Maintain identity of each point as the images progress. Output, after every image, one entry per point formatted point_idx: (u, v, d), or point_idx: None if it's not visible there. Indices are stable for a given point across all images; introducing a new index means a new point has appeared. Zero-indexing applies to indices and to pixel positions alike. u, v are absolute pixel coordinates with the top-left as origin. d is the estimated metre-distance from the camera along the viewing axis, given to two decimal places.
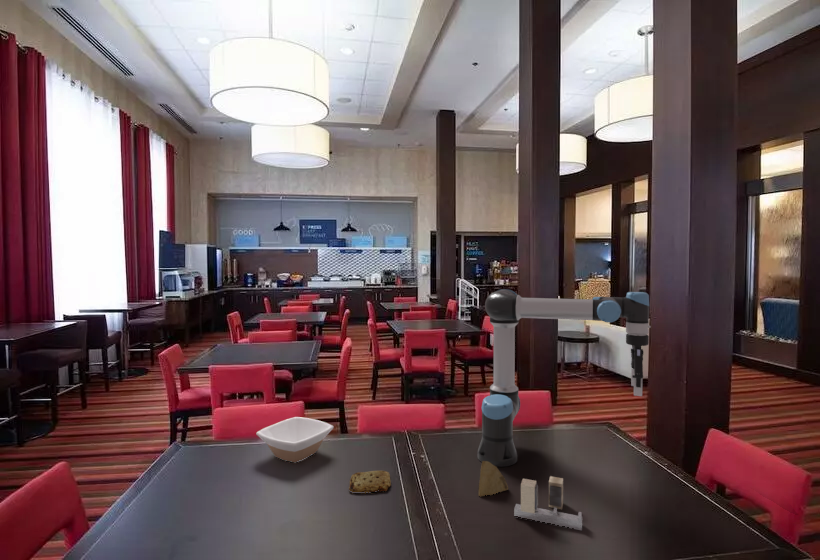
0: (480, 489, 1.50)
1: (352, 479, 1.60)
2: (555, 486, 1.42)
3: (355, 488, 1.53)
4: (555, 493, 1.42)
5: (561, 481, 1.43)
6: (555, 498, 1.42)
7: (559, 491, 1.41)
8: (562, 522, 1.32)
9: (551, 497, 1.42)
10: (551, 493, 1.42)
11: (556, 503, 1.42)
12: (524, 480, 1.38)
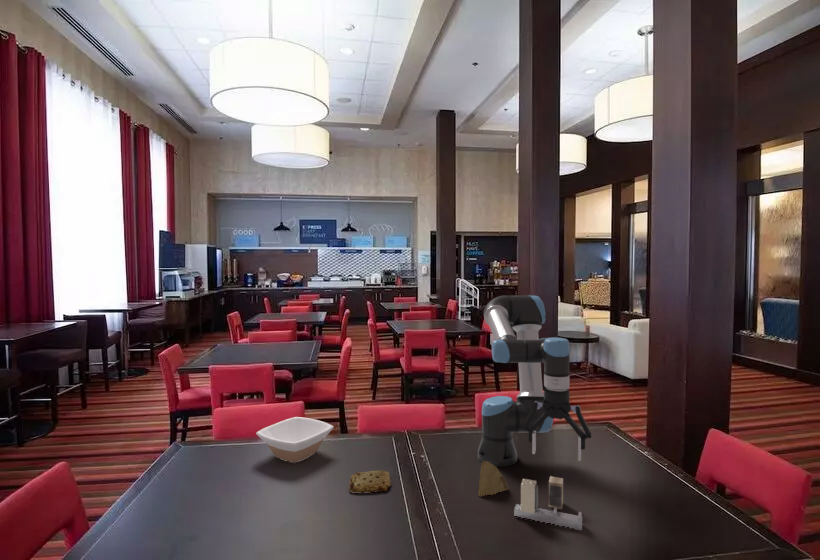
0: (480, 489, 1.50)
1: (352, 479, 1.60)
2: (555, 486, 1.42)
3: (355, 488, 1.53)
4: (555, 493, 1.42)
5: (561, 481, 1.43)
6: (555, 498, 1.42)
7: (559, 491, 1.41)
8: (562, 522, 1.32)
9: (551, 497, 1.42)
10: (551, 493, 1.42)
11: (556, 503, 1.42)
12: (524, 480, 1.38)
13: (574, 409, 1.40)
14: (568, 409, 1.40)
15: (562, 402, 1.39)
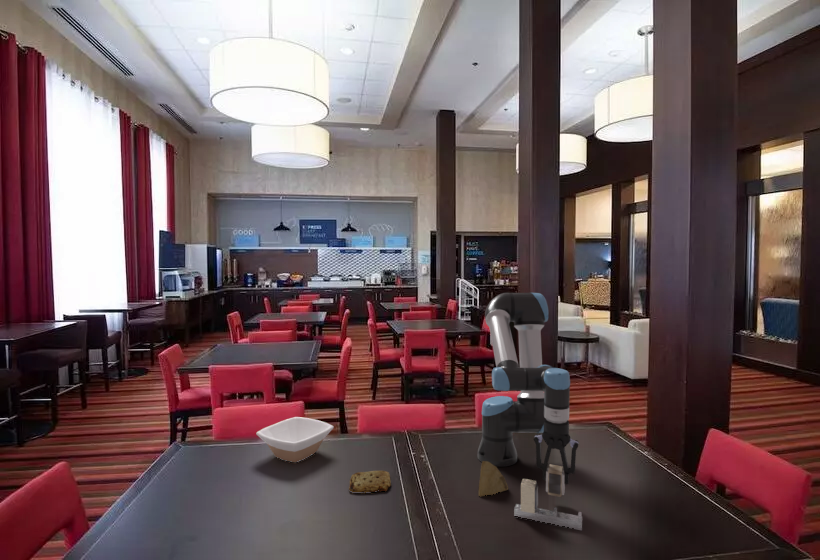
0: (480, 489, 1.50)
1: (352, 479, 1.60)
2: (555, 474, 1.42)
3: (355, 488, 1.53)
4: (554, 481, 1.42)
5: (561, 469, 1.43)
6: (554, 486, 1.42)
7: (558, 479, 1.41)
8: (562, 522, 1.32)
9: (550, 485, 1.42)
10: (550, 481, 1.42)
11: (555, 491, 1.42)
12: (524, 480, 1.38)
13: (572, 443, 1.41)
14: (567, 440, 1.41)
15: (562, 434, 1.40)
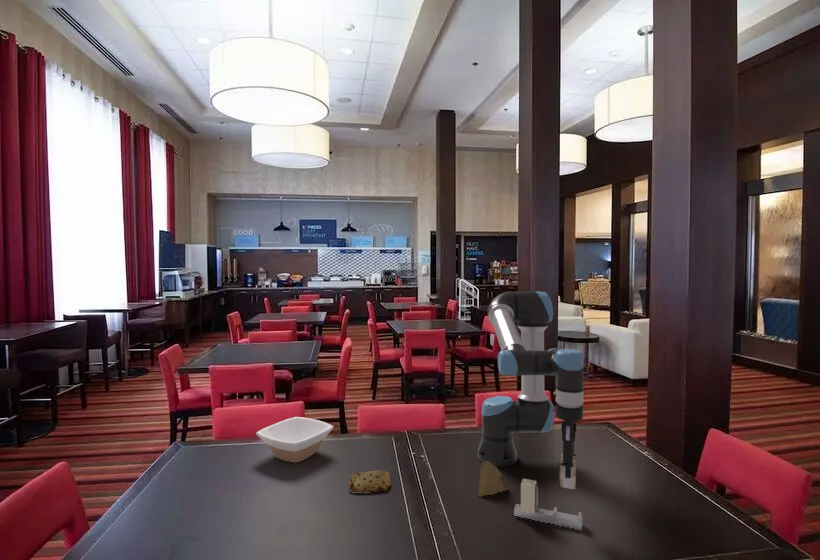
0: (480, 489, 1.50)
1: (352, 479, 1.60)
2: (560, 459, 1.33)
3: (355, 488, 1.53)
4: None
5: None
6: None
7: None
8: (562, 522, 1.32)
9: None
10: None
11: None
12: (524, 480, 1.38)
13: None
14: (564, 428, 1.29)
15: (557, 416, 1.31)
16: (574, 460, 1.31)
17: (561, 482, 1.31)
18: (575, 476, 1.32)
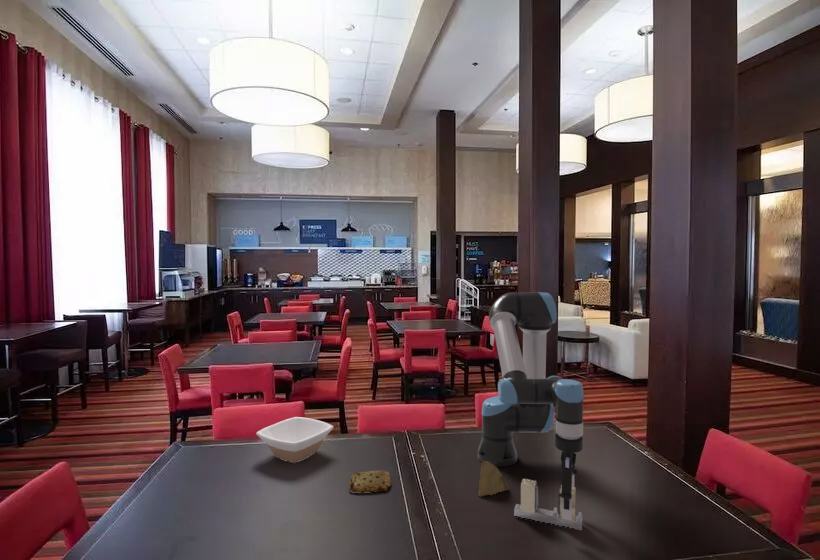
0: (480, 489, 1.50)
1: (352, 479, 1.60)
2: (559, 491, 1.34)
3: (355, 488, 1.53)
4: None
5: None
6: None
7: (558, 497, 1.33)
8: (562, 522, 1.32)
9: None
10: None
11: None
12: (524, 480, 1.38)
13: None
14: (563, 459, 1.29)
15: (556, 447, 1.32)
16: (573, 492, 1.31)
17: None
18: None
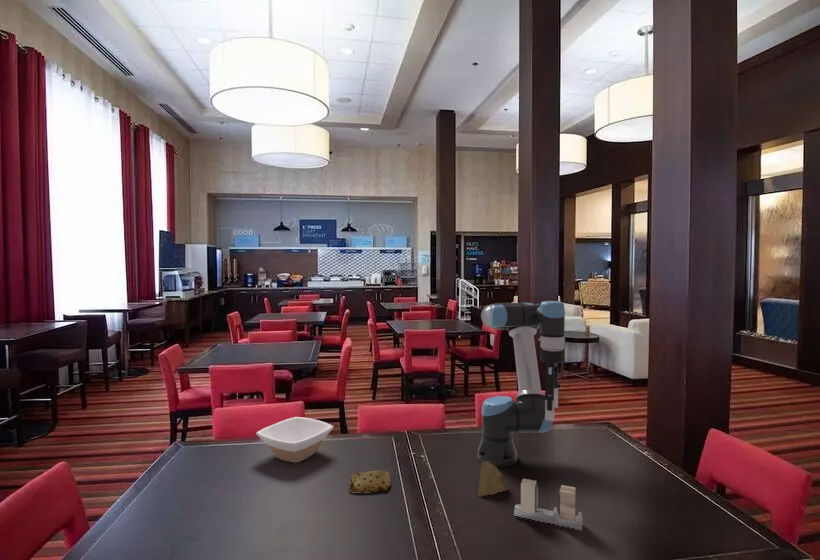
0: (480, 489, 1.50)
1: (352, 479, 1.60)
2: (559, 491, 1.34)
3: (355, 488, 1.53)
4: None
5: (566, 491, 1.31)
6: None
7: (558, 497, 1.33)
8: (562, 522, 1.32)
9: None
10: None
11: None
12: (524, 480, 1.38)
13: None
14: None
15: (541, 359, 1.49)
16: (573, 492, 1.31)
17: (561, 514, 1.32)
18: None
